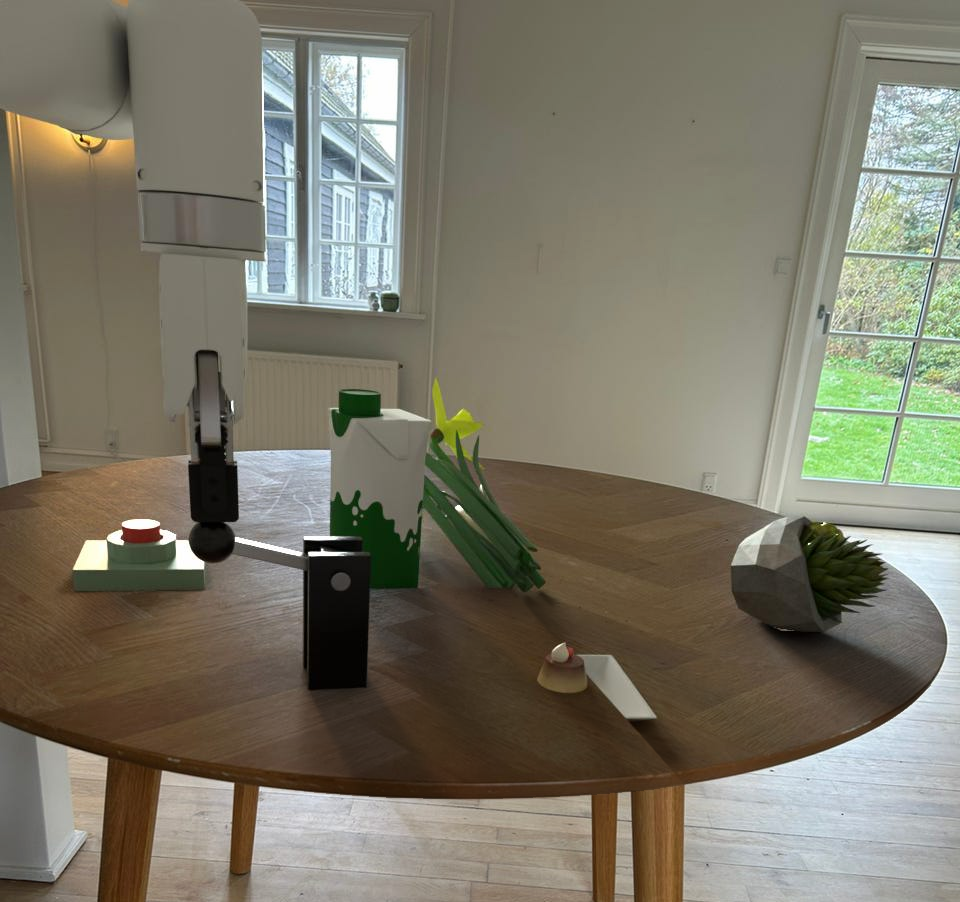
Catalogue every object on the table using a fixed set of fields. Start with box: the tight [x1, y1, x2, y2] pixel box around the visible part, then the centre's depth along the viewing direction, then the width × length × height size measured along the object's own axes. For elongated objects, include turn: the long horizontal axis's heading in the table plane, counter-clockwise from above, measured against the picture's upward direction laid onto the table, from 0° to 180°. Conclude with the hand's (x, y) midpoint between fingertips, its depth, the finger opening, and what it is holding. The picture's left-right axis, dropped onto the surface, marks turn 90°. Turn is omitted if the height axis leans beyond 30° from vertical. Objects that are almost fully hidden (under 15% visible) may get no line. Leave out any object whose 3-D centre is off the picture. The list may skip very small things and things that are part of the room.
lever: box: [188, 522, 345, 571], centre depth 64 cm, size 12×3×3 cm, turn 105°
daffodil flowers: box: [422, 376, 547, 593], centre depth 105 cm, size 17×15×35 cm
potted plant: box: [730, 515, 890, 633], centre depth 89 cm, size 12×13×15 cm
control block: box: [71, 529, 207, 592], centre depth 90 cm, size 12×10×4 cm
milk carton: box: [327, 388, 432, 590], centre depth 89 cm, size 9×9×20 cm
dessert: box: [536, 638, 658, 723], centre depth 71 cm, size 12×12×5 cm
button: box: [121, 518, 161, 543], centre depth 89 cm, size 4×4×2 cm
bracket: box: [302, 535, 371, 691], centre depth 67 cm, size 12×9×12 cm
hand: (215, 518), depth 62 cm, fingers closed
